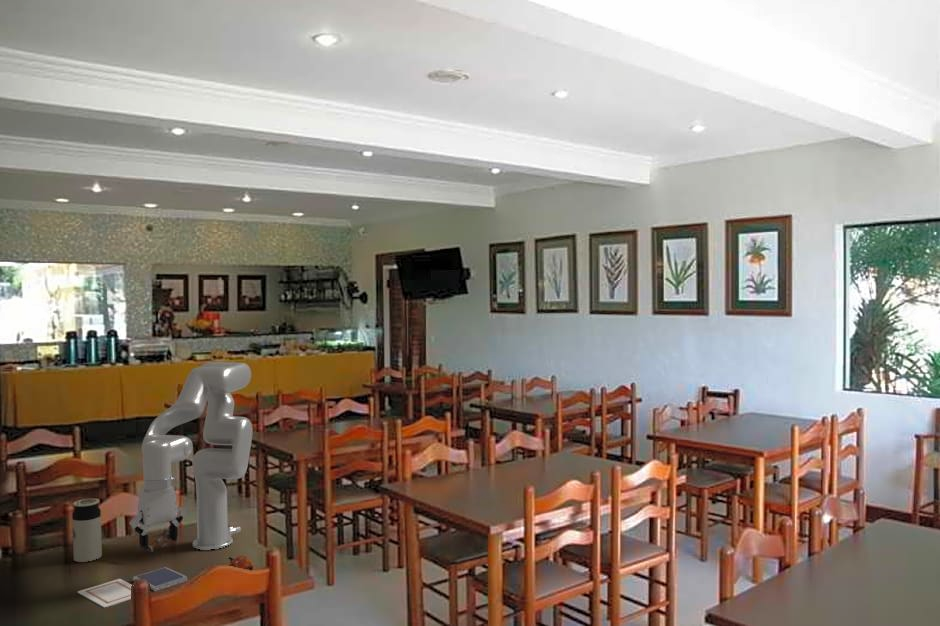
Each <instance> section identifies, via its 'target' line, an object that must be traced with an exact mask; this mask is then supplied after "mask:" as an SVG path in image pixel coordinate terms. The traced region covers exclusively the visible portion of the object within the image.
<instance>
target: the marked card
mask: <svg viewBox="0 0 940 626" xmlns="http://www.w3.org/2000/svg"><path fill="white" fill-rule="evenodd" d="M132 585H133V584H131V583H129V582H127V581H125V580H124V579H122V578H117V579H114V580H111V581H107V582H104V583H101V584H98V585H95V586H91V587H88V588H87V587H86V588H85V589H81V590H79V591H77V594H80V595H81V596H82V597H85V598H86V599H88V600H89V601H91V602H93V603H95V604H97V605H98V606H100V607H102V608H104V609H106V608H108V607H111V606H115V605H118V604H121V603H124V602H126V601H130V600H132V599H131V586H132ZM105 607H106V608H105Z"/></svg>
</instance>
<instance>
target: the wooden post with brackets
mask: <svg viewBox="0 0 940 626" xmlns="http://www.w3.org/2000/svg"><path fill="white" fill-rule="evenodd" d="M169 533H170V529H169V528H168V529H165V530H164V531H163V533H162V534H160V535H159V537H158V538H156V539H155V541H154V542H152V543H151V544H148V549H147V551H148V552H152V553H153V552H154V548H156V546H158V545H159V544H160V543H161V542H162V541H163V540H164V538H166V539H167V540H166V541H165V540H164V541H163V542H162V543H161V548H165V547H166V546H167V545H169V544H168V543H173V540H172V539H171V538H170V536H169Z"/></svg>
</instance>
